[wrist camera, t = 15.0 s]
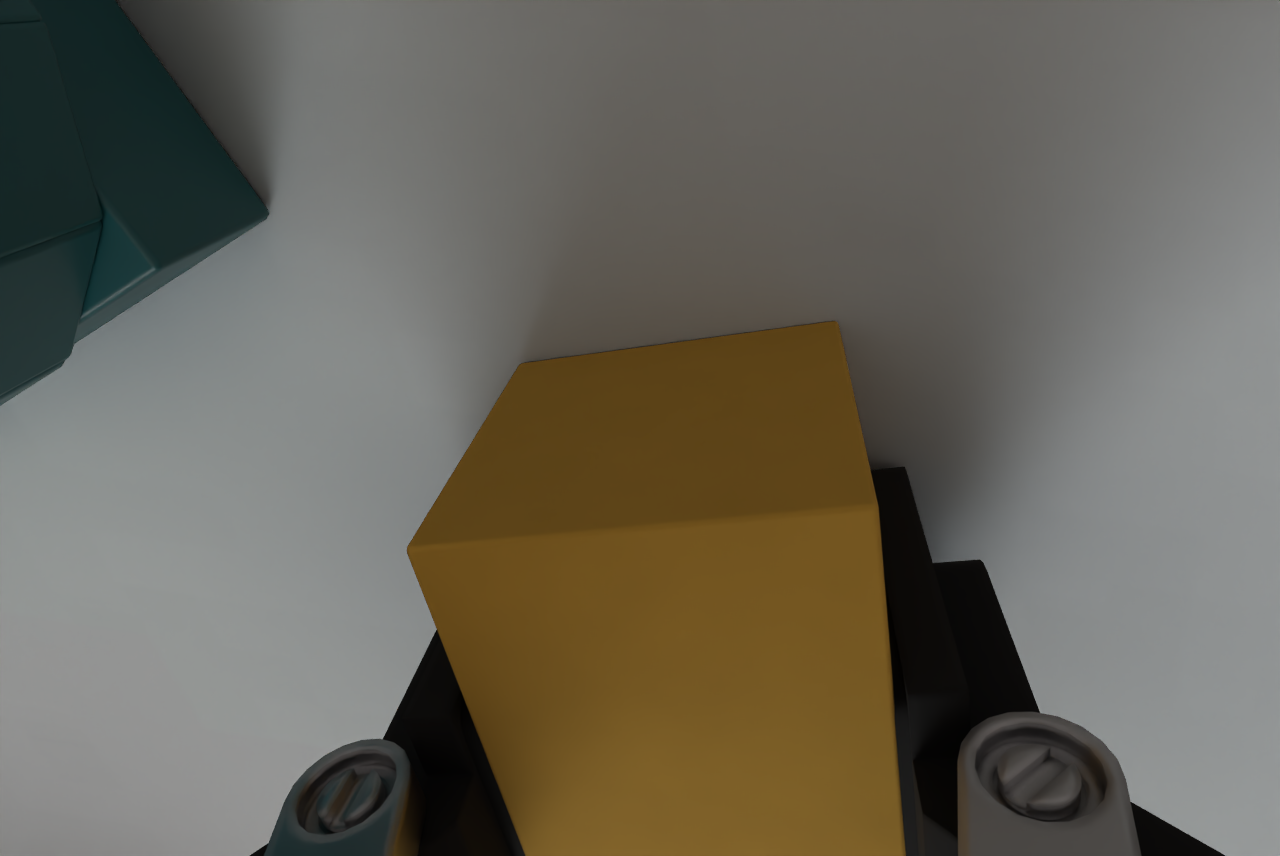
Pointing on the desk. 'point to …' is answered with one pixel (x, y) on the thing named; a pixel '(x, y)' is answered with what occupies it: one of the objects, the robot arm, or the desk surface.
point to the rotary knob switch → (96, 180)
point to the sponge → (675, 602)
